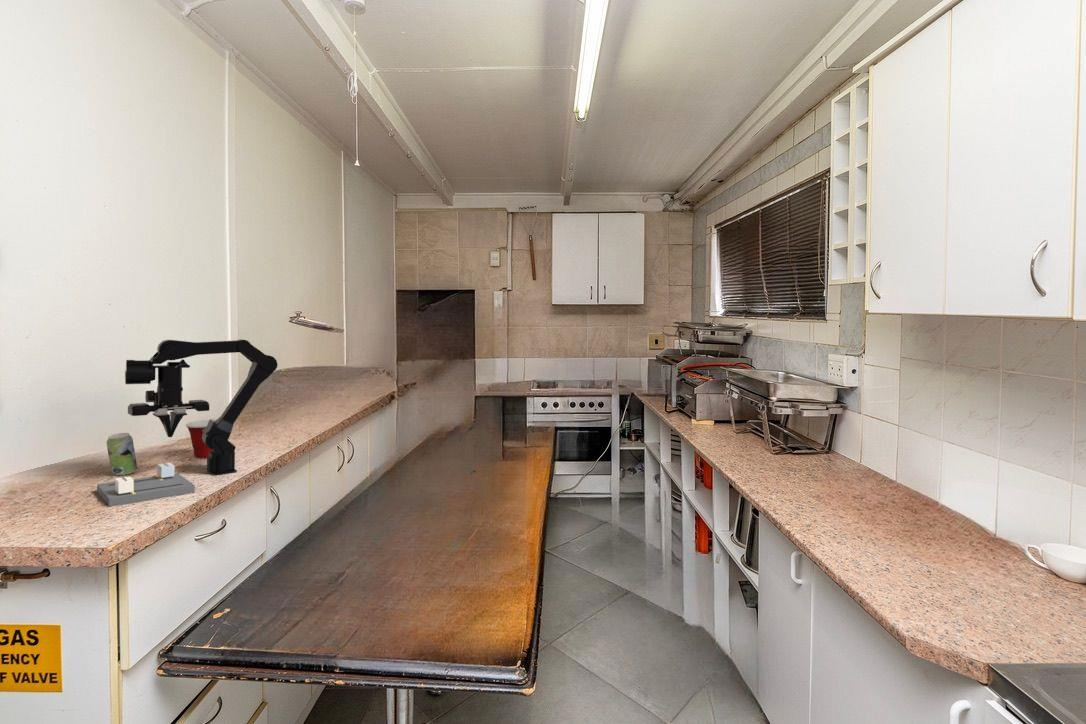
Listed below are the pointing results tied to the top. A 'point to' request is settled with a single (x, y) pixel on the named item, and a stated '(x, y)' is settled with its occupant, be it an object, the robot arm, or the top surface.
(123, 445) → the beverage can
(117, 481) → the cream fader
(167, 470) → the white fader
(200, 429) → the plastic cup
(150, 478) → the console
